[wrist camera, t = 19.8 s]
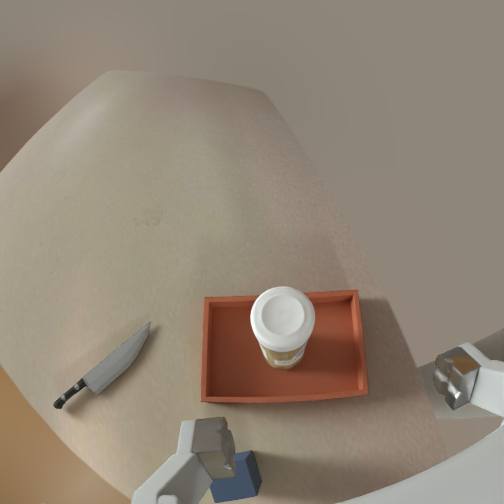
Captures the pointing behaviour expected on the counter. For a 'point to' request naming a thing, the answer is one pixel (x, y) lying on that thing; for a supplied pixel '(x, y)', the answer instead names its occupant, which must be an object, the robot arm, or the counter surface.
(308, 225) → the counter surface
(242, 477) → the blue block
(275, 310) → the sprinkles bottle
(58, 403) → the chef's knife
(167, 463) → the robot arm
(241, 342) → the tray
